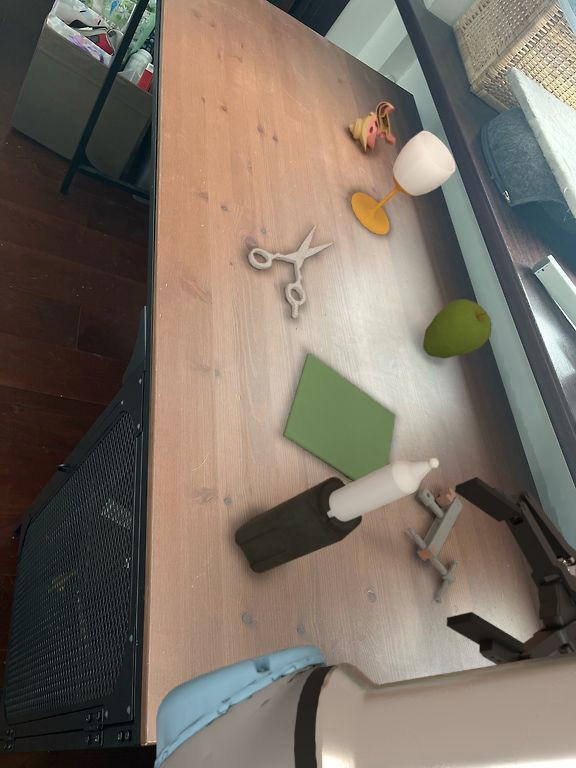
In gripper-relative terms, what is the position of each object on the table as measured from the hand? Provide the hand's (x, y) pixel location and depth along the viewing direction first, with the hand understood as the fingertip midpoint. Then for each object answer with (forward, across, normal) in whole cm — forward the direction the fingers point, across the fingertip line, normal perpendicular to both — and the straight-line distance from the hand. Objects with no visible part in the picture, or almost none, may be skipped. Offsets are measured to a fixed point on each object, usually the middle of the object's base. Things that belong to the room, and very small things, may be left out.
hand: (462, 546), depth 56 cm
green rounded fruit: (-9, +46, -18) cm, 50 cm away
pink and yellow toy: (+13, +87, -18) cm, 90 cm away
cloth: (+4, +21, -18) cm, 28 cm away
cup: (+8, +67, -18) cm, 70 cm away
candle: (+11, 0, -18) cm, 21 cm away
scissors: (+18, +43, -18) cm, 50 cm away
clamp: (-13, +13, -18) cm, 26 cm away
